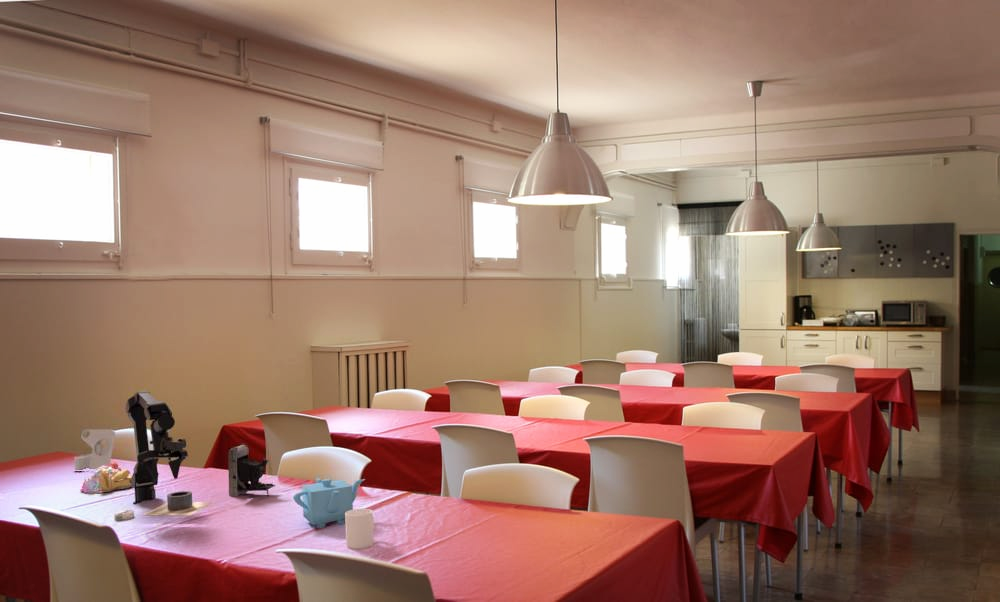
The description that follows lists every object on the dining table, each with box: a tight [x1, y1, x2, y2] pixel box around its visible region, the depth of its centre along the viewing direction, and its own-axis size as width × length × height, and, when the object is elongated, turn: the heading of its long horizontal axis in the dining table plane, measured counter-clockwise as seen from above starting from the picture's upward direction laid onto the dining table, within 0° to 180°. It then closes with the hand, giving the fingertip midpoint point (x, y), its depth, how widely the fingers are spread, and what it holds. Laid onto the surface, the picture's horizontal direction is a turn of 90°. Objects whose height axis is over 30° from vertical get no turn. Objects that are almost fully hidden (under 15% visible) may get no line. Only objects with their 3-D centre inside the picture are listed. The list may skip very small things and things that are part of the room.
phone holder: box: [74, 428, 116, 470], centre depth 389 cm, size 17×10×18 cm, turn 80°
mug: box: [344, 508, 375, 550], centre depth 260 cm, size 12×8×10 cm
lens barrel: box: [166, 490, 193, 511], centre depth 308 cm, size 8×8×5 cm
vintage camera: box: [228, 443, 276, 497], centre depth 326 cm, size 10×16×20 cm, turn 78°
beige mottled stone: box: [113, 509, 135, 522], centre depth 297 cm, size 6×7×3 cm
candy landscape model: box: [79, 461, 137, 494], centre depth 352 cm, size 25×24×9 cm
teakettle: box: [293, 477, 366, 529], centre depth 285 cm, size 19×19×15 cm
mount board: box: [143, 501, 213, 516], centre depth 307 cm, size 18×18×1 cm
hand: (166, 479), depth 299 cm, fingers open, 9 cm apart
